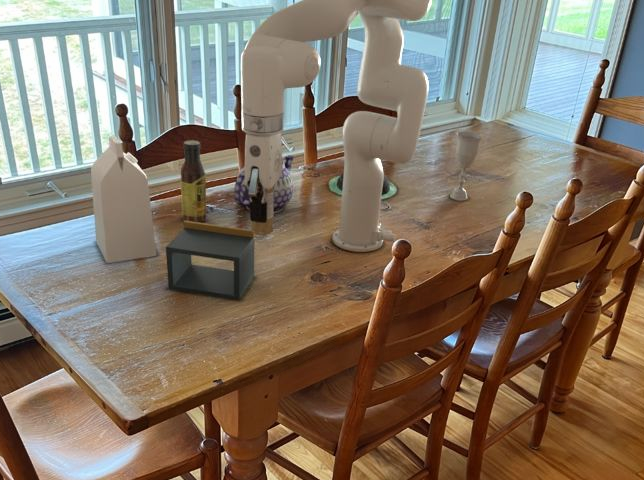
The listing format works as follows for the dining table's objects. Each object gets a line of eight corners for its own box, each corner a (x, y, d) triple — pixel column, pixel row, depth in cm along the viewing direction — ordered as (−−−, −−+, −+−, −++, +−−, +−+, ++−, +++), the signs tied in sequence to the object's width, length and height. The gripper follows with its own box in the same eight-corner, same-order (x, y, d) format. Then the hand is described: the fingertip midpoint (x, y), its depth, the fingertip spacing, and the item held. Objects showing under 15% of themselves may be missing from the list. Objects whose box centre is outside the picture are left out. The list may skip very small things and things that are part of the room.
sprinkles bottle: (245, 231, 142) (245, 164, 134) (261, 224, 145) (261, 158, 137) (262, 238, 139) (263, 170, 132) (278, 231, 142) (279, 164, 135)
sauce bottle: (202, 225, 185) (199, 148, 173) (178, 222, 185) (174, 145, 174) (210, 215, 190) (207, 140, 179) (187, 212, 191) (183, 137, 180)
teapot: (256, 228, 184) (257, 171, 176) (212, 212, 192) (210, 156, 183) (314, 201, 201) (317, 148, 193) (272, 187, 209) (273, 135, 200)
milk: (96, 242, 174) (82, 133, 159) (143, 235, 178) (134, 129, 163) (107, 263, 165) (93, 150, 150) (156, 255, 169) (148, 145, 154)
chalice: (443, 198, 208) (453, 136, 198) (448, 191, 213) (459, 129, 203) (468, 203, 206) (480, 140, 195) (473, 195, 211) (485, 133, 201)
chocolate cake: (394, 201, 202) (323, 196, 204) (395, 210, 220) (330, 205, 222) (400, 146, 200) (328, 142, 203) (400, 160, 219) (334, 155, 221)
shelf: (254, 277, 162) (254, 230, 156) (239, 300, 153) (239, 251, 147) (186, 267, 165) (184, 220, 158) (168, 289, 156) (165, 240, 149)
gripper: (270, 137, 122) (269, 236, 133) (294, 110, 136) (291, 202, 146) (227, 133, 124) (230, 231, 134) (255, 106, 137) (256, 197, 148)
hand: (262, 215), depth 140 cm, fingers closed on sprinkles bottle, 4 cm apart
